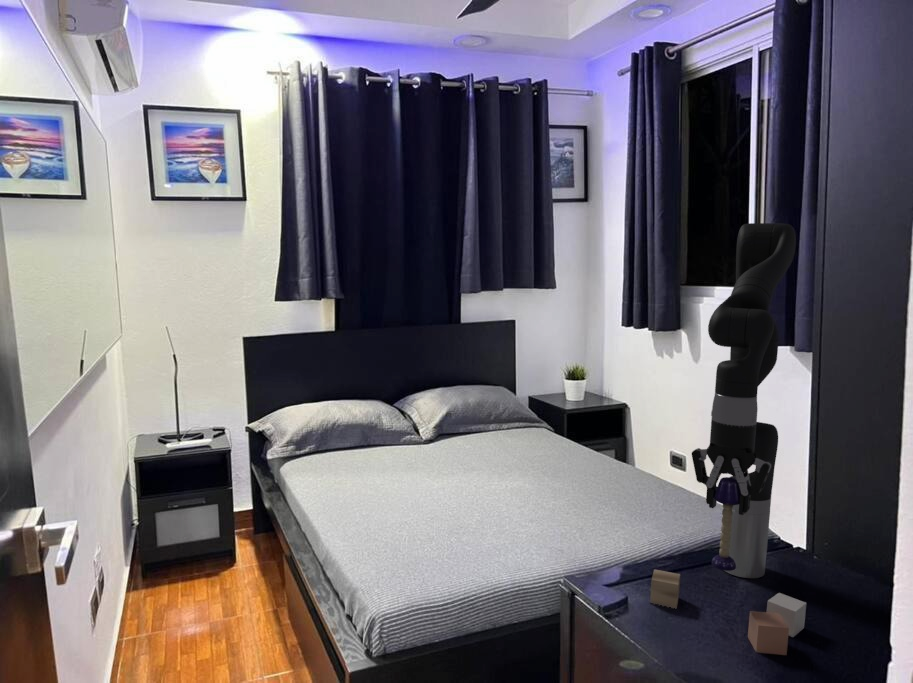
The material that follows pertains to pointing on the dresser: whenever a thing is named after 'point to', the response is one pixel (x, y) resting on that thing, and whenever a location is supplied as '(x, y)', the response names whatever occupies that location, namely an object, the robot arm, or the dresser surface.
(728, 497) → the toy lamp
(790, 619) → the off-white block
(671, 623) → the dresser surface
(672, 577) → the oak block
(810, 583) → the dresser surface
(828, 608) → the dresser surface
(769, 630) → the terracotta block
